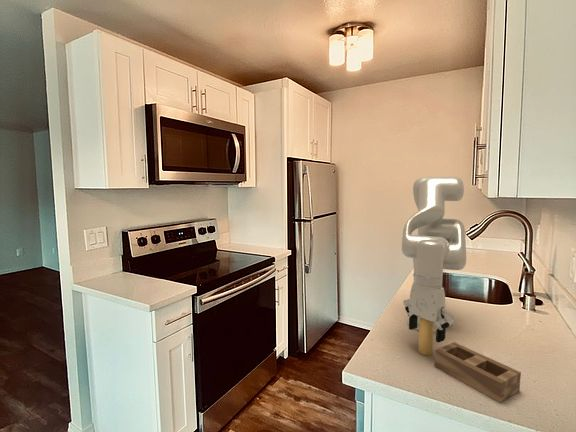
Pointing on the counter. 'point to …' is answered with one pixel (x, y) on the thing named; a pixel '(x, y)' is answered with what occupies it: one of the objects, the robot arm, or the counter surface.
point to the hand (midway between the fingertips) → (426, 334)
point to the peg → (425, 337)
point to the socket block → (478, 371)
